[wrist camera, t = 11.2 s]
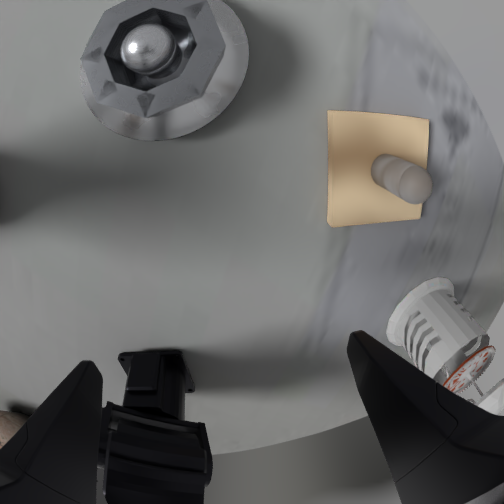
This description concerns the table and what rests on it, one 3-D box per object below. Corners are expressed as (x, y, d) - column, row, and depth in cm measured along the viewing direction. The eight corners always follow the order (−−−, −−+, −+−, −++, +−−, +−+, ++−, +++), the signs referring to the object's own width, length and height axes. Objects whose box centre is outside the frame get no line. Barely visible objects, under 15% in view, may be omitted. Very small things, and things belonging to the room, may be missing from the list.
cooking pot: (66, 411, 29) (50, 482, 19) (103, 457, 38) (97, 510, 27) (-37, 375, 25) (-58, 424, 15) (8, 428, 34) (-4, 470, 23)
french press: (458, 263, 24) (597, 432, 3) (447, 332, 30) (537, 473, 8) (384, 300, 25) (514, 526, 3) (386, 365, 31) (465, 531, 9)
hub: (251, 127, 17) (268, 135, 12) (99, 152, 16) (57, 172, 11) (240, -13, 12) (252, -55, 7) (88, 17, 11) (46, -7, 6)
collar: (188, 127, 15) (182, 131, 12) (89, 94, 13) (66, 94, 10) (239, 29, 12) (244, 13, 10) (137, -1, 10) (123, -19, 8)
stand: (413, 214, 21) (456, 245, 16) (327, 222, 20) (361, 261, 15) (421, 118, 17) (473, 129, 12) (327, 110, 16) (370, 114, 12)
